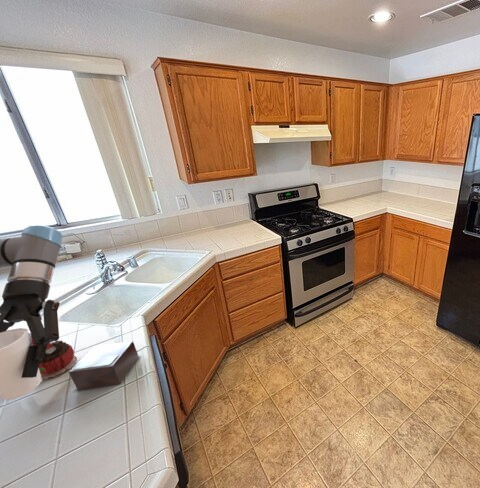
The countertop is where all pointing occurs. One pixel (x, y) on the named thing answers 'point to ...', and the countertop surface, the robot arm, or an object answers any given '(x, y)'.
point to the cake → (56, 359)
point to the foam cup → (15, 364)
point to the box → (104, 365)
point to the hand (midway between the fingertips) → (0, 382)
